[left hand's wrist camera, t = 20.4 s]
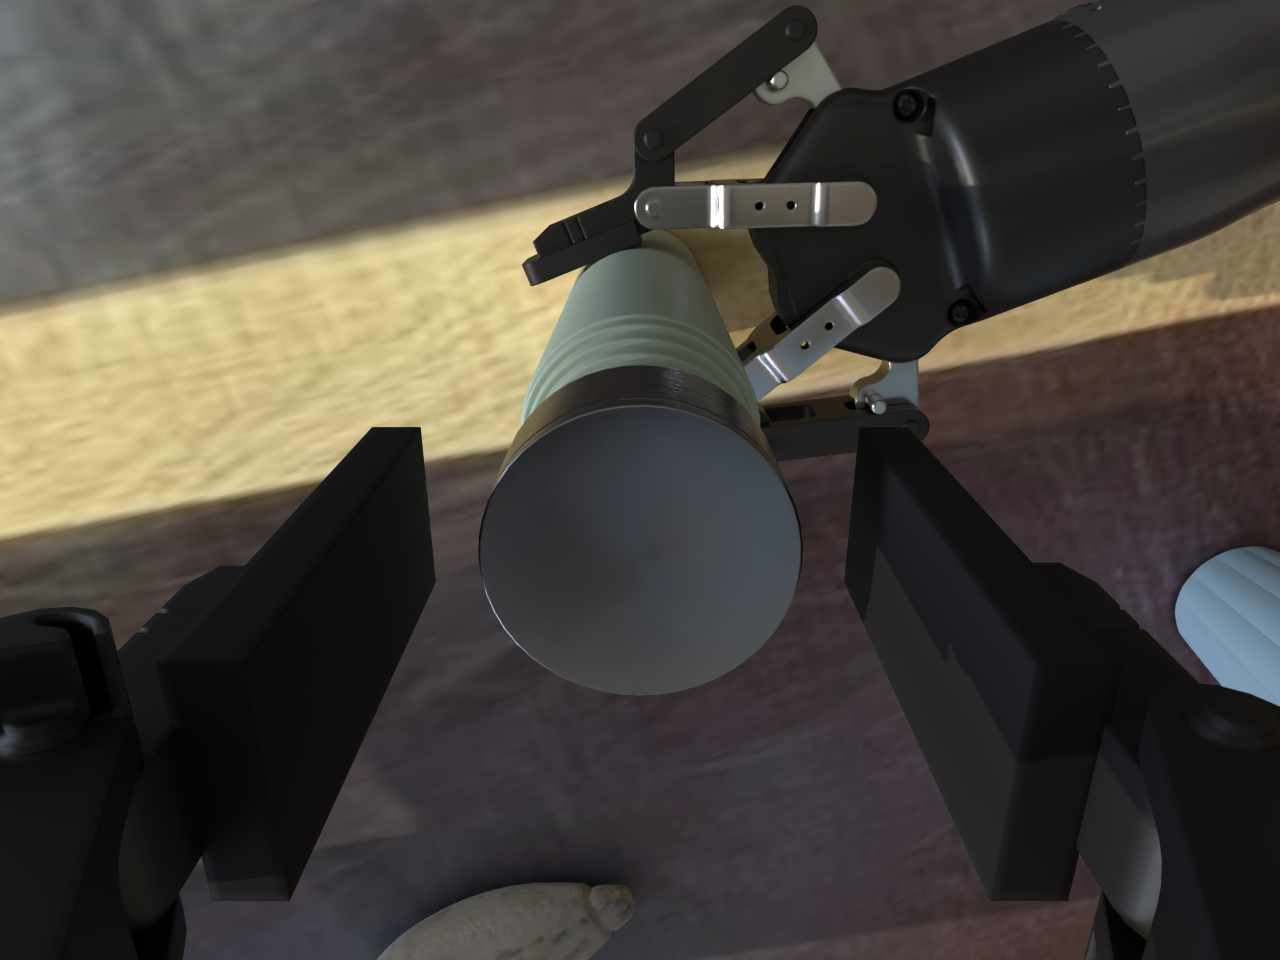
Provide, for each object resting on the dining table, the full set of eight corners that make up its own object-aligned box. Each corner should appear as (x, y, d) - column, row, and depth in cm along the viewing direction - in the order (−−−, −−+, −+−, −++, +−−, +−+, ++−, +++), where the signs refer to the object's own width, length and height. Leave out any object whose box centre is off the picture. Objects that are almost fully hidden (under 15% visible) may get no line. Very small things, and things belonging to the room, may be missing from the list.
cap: (443, 473, 14) (410, 529, 12) (671, 304, 13) (677, 335, 11) (614, 665, 15) (610, 745, 13) (832, 525, 14) (864, 589, 12)
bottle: (661, 371, 35) (694, 725, 14) (556, 311, 34) (422, 591, 13) (725, 266, 34) (869, 486, 13) (617, 200, 33) (577, 318, 12)
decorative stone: (658, 912, 46) (659, 970, 42) (408, 1009, 48) (392, 1071, 45) (602, 830, 44) (599, 885, 40) (344, 937, 46) (323, 996, 43)
